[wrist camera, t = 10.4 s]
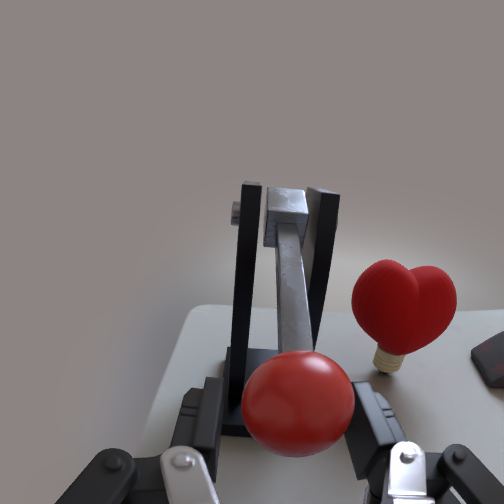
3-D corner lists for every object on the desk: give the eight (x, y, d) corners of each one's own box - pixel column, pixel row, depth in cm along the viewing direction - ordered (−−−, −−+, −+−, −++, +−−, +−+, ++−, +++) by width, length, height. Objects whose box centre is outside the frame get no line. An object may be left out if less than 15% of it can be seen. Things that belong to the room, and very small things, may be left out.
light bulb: (334, 390, 21) (365, 271, 19) (334, 346, 28) (354, 246, 25) (437, 397, 19) (480, 287, 17) (419, 354, 26) (447, 261, 23)
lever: (338, 463, 8) (381, 434, 6) (236, 464, 8) (240, 439, 6) (307, 232, 19) (317, 182, 17) (251, 227, 19) (256, 176, 17)
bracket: (310, 438, 16) (365, 199, 12) (216, 434, 16) (227, 185, 12) (295, 361, 25) (321, 187, 21) (226, 357, 25) (238, 179, 21)
